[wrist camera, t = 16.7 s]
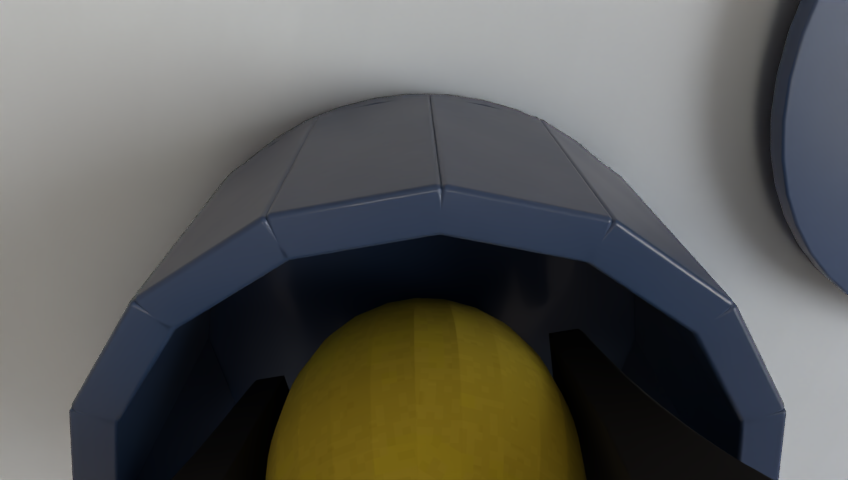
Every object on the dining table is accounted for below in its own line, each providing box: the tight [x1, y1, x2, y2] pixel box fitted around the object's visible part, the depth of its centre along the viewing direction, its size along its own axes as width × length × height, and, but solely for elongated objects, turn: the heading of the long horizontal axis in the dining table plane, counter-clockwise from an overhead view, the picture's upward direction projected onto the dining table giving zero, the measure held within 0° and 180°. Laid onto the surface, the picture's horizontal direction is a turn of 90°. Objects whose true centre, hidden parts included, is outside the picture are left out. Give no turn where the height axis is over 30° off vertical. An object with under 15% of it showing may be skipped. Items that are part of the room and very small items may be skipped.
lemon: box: [266, 298, 587, 480], centre depth 11 cm, size 6×6×8 cm
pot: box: [69, 94, 786, 480], centre depth 12 cm, size 11×11×6 cm
